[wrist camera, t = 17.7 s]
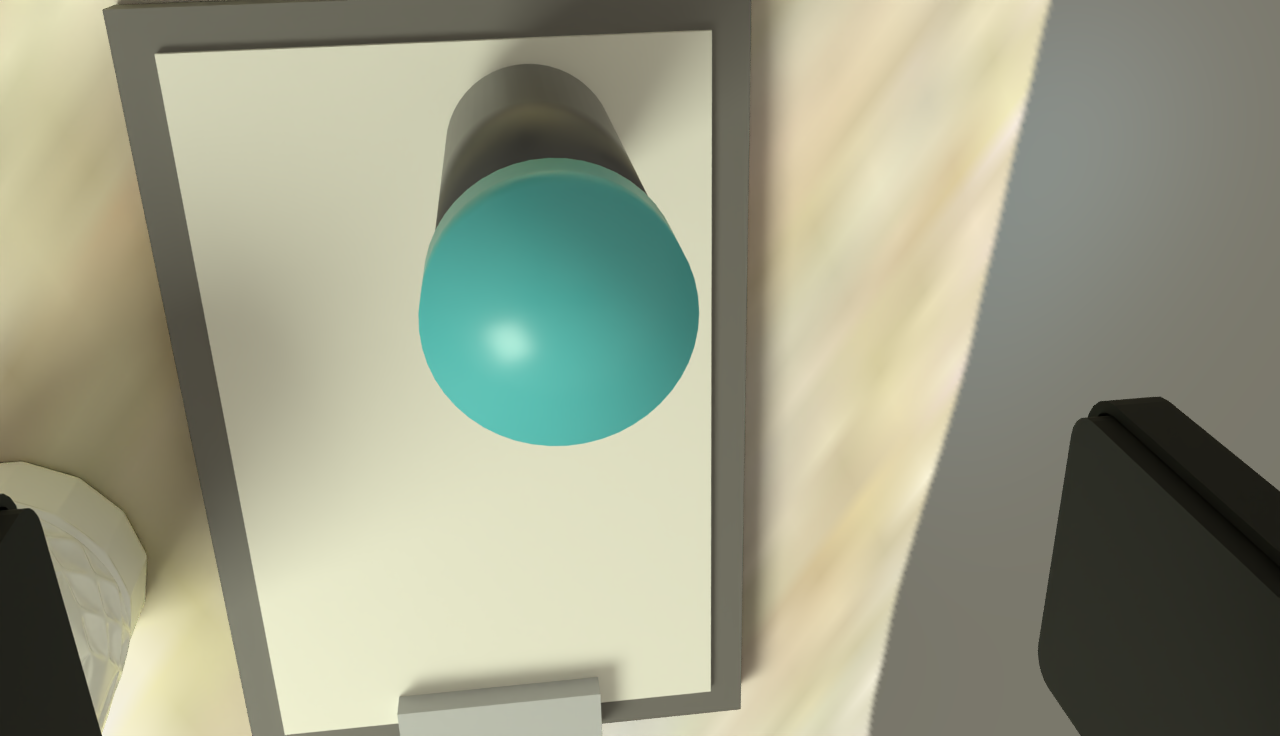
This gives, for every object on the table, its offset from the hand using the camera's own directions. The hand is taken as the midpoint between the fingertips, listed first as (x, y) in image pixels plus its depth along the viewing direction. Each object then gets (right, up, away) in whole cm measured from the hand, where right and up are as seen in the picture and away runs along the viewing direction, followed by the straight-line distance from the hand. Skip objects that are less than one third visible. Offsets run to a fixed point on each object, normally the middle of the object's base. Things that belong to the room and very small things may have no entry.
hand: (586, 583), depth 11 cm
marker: (-2, +8, +18) cm, 19 cm away
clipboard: (-4, +1, +22) cm, 22 cm away
